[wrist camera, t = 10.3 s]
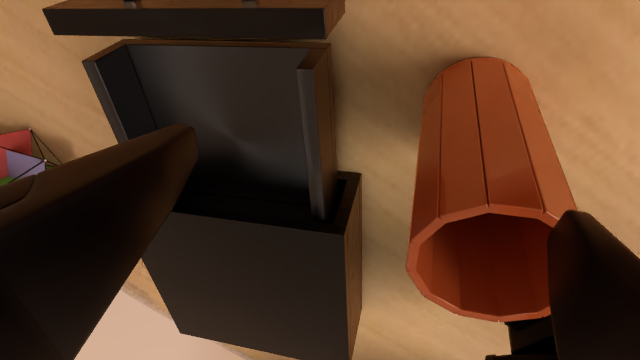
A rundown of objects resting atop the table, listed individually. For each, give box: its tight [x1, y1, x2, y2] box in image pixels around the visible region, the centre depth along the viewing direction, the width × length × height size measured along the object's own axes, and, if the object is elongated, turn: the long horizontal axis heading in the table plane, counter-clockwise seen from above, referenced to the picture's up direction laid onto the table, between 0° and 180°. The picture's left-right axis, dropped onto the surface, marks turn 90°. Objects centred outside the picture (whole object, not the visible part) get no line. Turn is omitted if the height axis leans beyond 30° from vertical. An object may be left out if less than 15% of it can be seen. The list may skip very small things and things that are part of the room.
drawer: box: [42, 0, 345, 224], centre depth 21 cm, size 18×13×4 cm
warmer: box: [141, 171, 362, 360], centre depth 29 cm, size 15×15×6 cm
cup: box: [406, 57, 578, 322], centre depth 16 cm, size 5×5×11 cm
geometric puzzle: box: [0, 128, 62, 186], centre depth 29 cm, size 7×7×8 cm
